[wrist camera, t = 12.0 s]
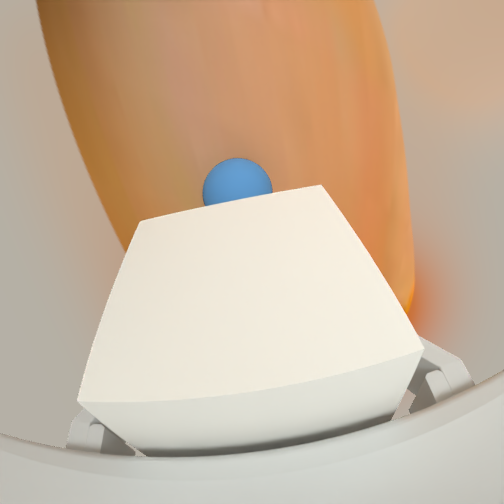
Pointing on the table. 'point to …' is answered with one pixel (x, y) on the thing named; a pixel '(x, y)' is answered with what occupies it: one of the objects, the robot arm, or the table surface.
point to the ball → (235, 182)
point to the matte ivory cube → (248, 331)
